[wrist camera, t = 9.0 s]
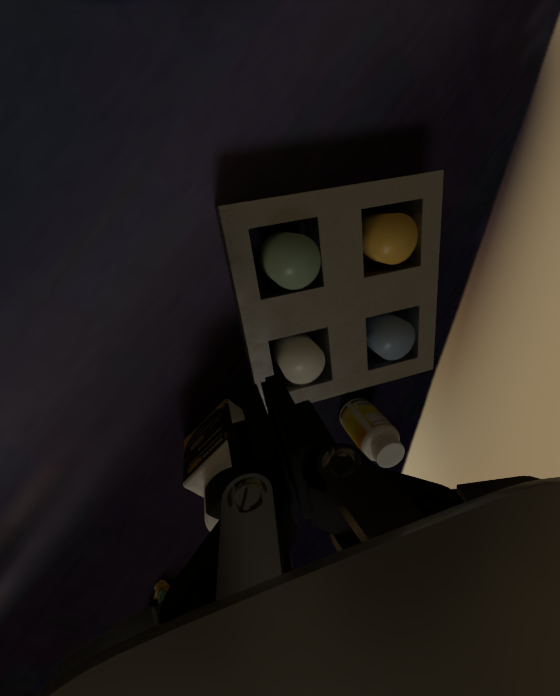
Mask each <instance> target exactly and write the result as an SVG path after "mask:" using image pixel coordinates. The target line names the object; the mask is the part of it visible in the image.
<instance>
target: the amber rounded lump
mask: <svg viewBox="0 0 560 696" xmlns="http://www.w3.org/2000/svg"><path fill="white" fill-rule="evenodd" d="M417 238H418V231H417V226H416V224H415V222H414V220H413V219H412V218H411V217H410V216H408V215H406V214H403V213H375V214H370V215H368V216H366V217H364V218H363V219H362V241H363V258H366V259H369V260H373V261H377V262H381V263H386V264H390V265H394V264H398V263H401V262H403V261H404V260H406V259H407V258H408V257H409V256H410V255H411V253H412V252H413V250H414V248H415V246H416V243H417Z"/></svg>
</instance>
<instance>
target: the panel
mask: <svg viewBox="0 0 560 696" xmlns="http://www.w3.org/2000/svg"><path fill="white" fill-rule="evenodd" d="M443 174H444V170H441V171H434V172H428V173H422V174H416V175H409V176H403V177H397V178H391V179H384V180H378V181H372V182H366V183H359V184H353V185H347V186H341V187H334V188H328V189H322V190H316V191H309V192H303V193H297V194H291V195H284V196H278V197H272V198H266V199H259V200H253V201H247V202H241V203H234V204H228V205H222V206H217V207H215V211H216V216H217V220H218V225H219V230H220V234H221V239H222V244H223V248H224V253H225V258H226V263H227V267H228V272H229V277H230V281H231V286H232V291H233V295H234V300H235V305H236V310H237V314H238V319H239V324H240V328H241V333H242V338H243V342H244V347H245V352H246V357H247V361H248V366H249V371H250V375H251V380H252V385H255V384H257V387H258V389H259V392H260V395H261V397H262V400H263V402H264V405H265V408H266V410H267V407H266V403H265V399H264V395H263V391H262V387H261V382H265V377H268V376H272V375H274V372H273V366H272V360H271V355H270V349H269V344H268V341H271V340H275V339H279V338H284V337H288V336H292V335H296V334H301V333H305V332H309V331H313V330H315V331H316V340H317V346H318V347H319V348H320V349H321V350H322V351H323V353H324V356H325V365H324V368H323V371H322V372H321V374H320V375H319V376H318V377H317V378H316V379H315V380H313V381H311V382H309V383H306V384H295V383H292V382H290V381H289V380H288V379H287V378H286V377H285V376H284V374H280V376H281V378H282V380H283V382H284V384H285V386H286V388H287V390H288V391H289V393H290V395H291V397H292V399H293V401H294V403H295V404H296V403H299V402H302V401H306V400H309V401H310V402H311V403H312V402H316V401H320V400H323V399H327V398H330V397H334V396H338V395H341V394H345V393H349V392H352V391H356V390H359V389H363V388H367V387H370V386H374V385H377V384H381V383H385V382H388V381H392V380H396V379H399V378H403V377H406V376H410V375H414V374H417V373H421V372H425V371H428V370H432V369H433V360H434V342H435V323H436V304H437V286H438V267H439V248H440V230H441V211H442V193H443ZM393 203H397V213H403V214H406V215H408V216H410V217H411V218H412V219H413V220H414V222H415V224H416V226H417V231H418V238H417V243H416V246H415V248H414V250H413V252H412V253H411V255H410V256H409V257H408V258H407V259H406V260H404V261H403V262H401V263H398V264H394V265H390V264H386V263H384V264H379V265H374V266H370V267H365V268H364V265H363V241H362V217H361V209H365V208H370V207H376V206H382V205H388V204H393ZM302 219H303V222H304V231H305V236H307V237H309V238H310V239H312V240H313V241H314V243H315V244H316V245H317V247H318V249H319V252H320V257H321V264H320V269H319V272H318V274H317V276H316V277H315V279H314V280H313V281H312V282H311V283H310V284H309V285H307V286H305V287H303V288H301V289H296V290H291V289H286V288H284V287H282V286H280V285H278V286H273V287H269V288H264V289H259V287H258V282H257V276H256V271H255V265H254V259H253V254H252V248H251V243H250V237H249V231H248V229H250V228H256V227H262V226H268V225H273V224H279V223H285V222H290V221H296V220H302ZM393 311H397V317H399V318H401V319H403V320H405V321H407V322H409V323H410V324H411V325H412V326H413V328H414V331H415V340H414V344H413V346H412V348H411V349H410V351H409V352H408V353H407V354H406V355H404V356H403V357H401V358H399V359H397V360H386V359H384V358H382V357H381V356H380V355H378V354H377V353H376V352H374V351H370V352H367V339H366V318H368V317H372V316H377V315H381V314H385V313H389V312H393ZM267 413H268V411H267Z"/></svg>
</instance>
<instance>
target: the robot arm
mask: <svg viewBox="0 0 560 696" xmlns="http://www.w3.org/2000/svg"><path fill="white" fill-rule="evenodd" d="M261 387H262V391H263V395H264V399H265V403H266V407H267V410H266V408H265V405H264V402H263V400H262V397H261V395H260V392H259V389H258V387H257V384H255V385H251V383H250V382H248V383H245V384H241V385H238V386H236V388H237V391H238V395H239V399H240V403H241V406H242V410H243V414H244V418H245V420H242V421H239V422H236V423H233V424H229V425H226V426H225V428H226V435H227V440H228V446H229V452H230V458H231V464H232V470H233V476H234V480H233V481H232V482H231V483H230V484H229V485H228V486H227V487H226V489H225V491H224V492H223V496H222V502H221V518H220V519H219V521H218V522H217V523H216V525H215V526H214V527H213V529H212V530H211V532H210V533H209V534H208V536H207V537H206V538H205V540H204V541H203V543H202V544H201V545H200V547H199V548H198V549H197V551H196V552H195V554H194V555H193V556H192V558H191V559H190V560H189V562H188V563H187V565H186V566H185V567H184V569H183V570H182V571H181V573H180V574H179V576H178V577H177V578H176V580H175V581H174V582H173V584H172V585H171V587H170V588H169V590H168V591H167V593H166V595H165V597H164V599H163V601H161V602H160V603H158V604H157V605H155V606H152V604H151V603H150V604H149V605H147V606H145V607H144V608H142V609H141V610H139V611H138V612H136V613H135V614H133V615H131V616H130V617H128V618H127V619H125V620H124V621H122V622H121V623H119V624H117V625H116V626H114V627H113V628H111V629H110V630H108V631H106V632H105V633H103V634H102V635H100V636H99V637H97V638H96V639H94V640H92V641H91V642H89V643H88V644H86V645H85V646H83V647H82V648H80V649H78V650H77V651H75V652H74V653H72V654H71V655H70V656H68V657H67V658H66V659H65V660H64V661H62V662H61V663H60V664H59V666H58V667H57V668H56V669H55V671H54V672H53V673H52V674H51V676H50V677H49V679H48V681H47V683H46V685H45V687H44V689H43V690H42V692H40V693H39V694H38V695H37V696H560V477H556V478H547V479H539V478H535V477H531V476H518V477H511V478H503V479H496V480H488V481H481V482H474V483H467V484H459V485H457V489H449V488H448V487H445V486H443V485H440V484H437V483H434V482H429V481H426V480H423V479H419V478H416V477H412V476H409V475H405V474H401V473H398V472H394V471H391V470H387V469H384V468H380V467H377V466H376V465H375V464H374V463H373V462H372V461H371V460H370V459H369V458H368V457H367V456H366V455H365V454H364V453H363V452H362V451H361V450H360V449H359V448H357V447H356V446H353V445H351V444H346V443H335V441H334V439H333V438H332V436H331V435H330V433H329V431H328V430H327V428H326V426H325V425H324V423H323V422H322V420H321V418H320V417H319V415H318V413H317V412H316V410H315V408H314V407H313V405H312V404H311V402H310V401H309V400H306V401H302V402H299V403H296V404H295V403H294V401H293V399H292V397H291V395H290V393H289V391H288V390H287V388H286V386H285V384H284V382H283V380H282V378H281V376H280V375H279V373H278V374H275V375H272V376H268V377H265V382H261ZM267 411H268V413H267ZM268 415H269V416H268ZM290 483H291V485H290ZM291 486H292V489H293V491H294V494H295V497H296V500H297V502H298V505H299V508H300V511H301V513H302V516H303V518H304V519H307V518H309V517H310V520H311V522H312V525H313V527H317V528H319V529H322V530H324V531H327V532H329V536H330V538H331V540H332V542H333V544H334V545H335V547H336V549H337V550H338V552H337V553H334V554H332V555H329V556H327V557H324V558H322V559H319V560H317V561H314V562H312V563H309V564H307V565H304V566H302V567H299V568H297V569H294V570H293V566H292V559H291V554H290V548H291V546H292V544H293V542H294V540H295V538H296V536H297V532H296V528H295V524H294V523H296V522H299V519H298V515H297V510H296V506H295V502H294V498H293V494H292V489H291Z"/></svg>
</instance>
